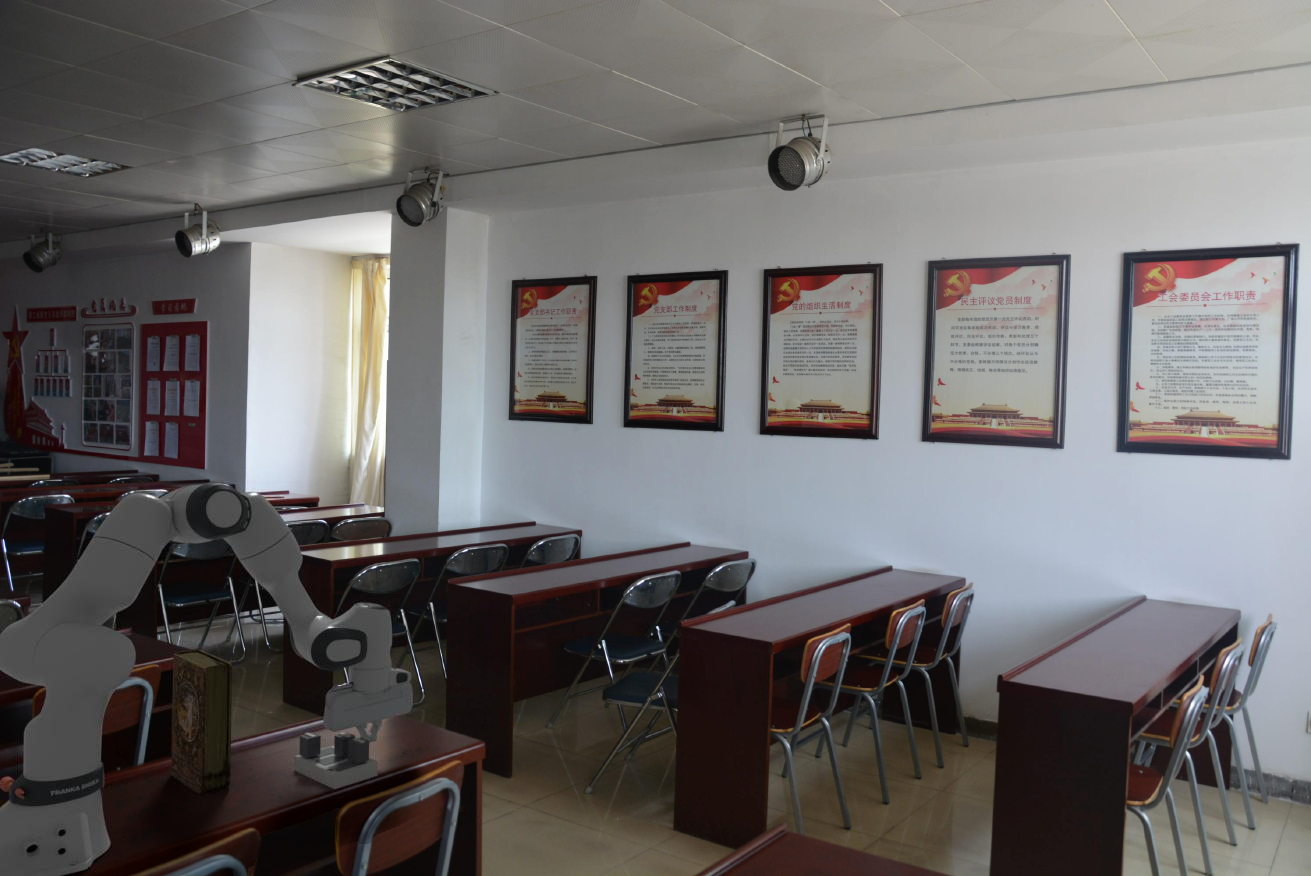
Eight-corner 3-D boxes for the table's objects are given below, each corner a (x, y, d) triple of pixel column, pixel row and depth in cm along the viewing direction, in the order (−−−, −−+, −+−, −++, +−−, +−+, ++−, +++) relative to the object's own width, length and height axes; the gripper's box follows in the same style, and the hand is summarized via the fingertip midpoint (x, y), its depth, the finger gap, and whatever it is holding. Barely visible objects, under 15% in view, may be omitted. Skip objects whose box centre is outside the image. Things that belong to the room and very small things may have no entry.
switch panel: (334, 789, 190) (334, 773, 190) (294, 770, 199) (294, 755, 199) (377, 775, 197) (377, 760, 197) (336, 757, 207) (337, 743, 207)
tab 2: (356, 763, 195) (356, 743, 195) (347, 760, 196) (348, 739, 196) (368, 759, 197) (369, 739, 197) (360, 756, 199) (360, 736, 199)
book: (168, 773, 196) (170, 652, 195) (195, 766, 200) (198, 648, 199) (201, 796, 185) (204, 668, 184) (230, 788, 189) (232, 663, 188)
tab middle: (342, 757, 198) (342, 737, 198) (334, 754, 200) (334, 734, 200) (354, 754, 200) (355, 734, 200) (346, 750, 202) (347, 730, 202)
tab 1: (307, 758, 197) (307, 737, 197) (299, 754, 199) (299, 734, 199) (320, 754, 199) (320, 734, 199) (312, 751, 201) (312, 731, 201)
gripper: (334, 690, 194) (333, 757, 194) (417, 672, 210) (416, 734, 210) (318, 684, 198) (316, 750, 198) (400, 666, 214) (399, 727, 214)
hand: (368, 741), depth 204 cm, fingers closed
